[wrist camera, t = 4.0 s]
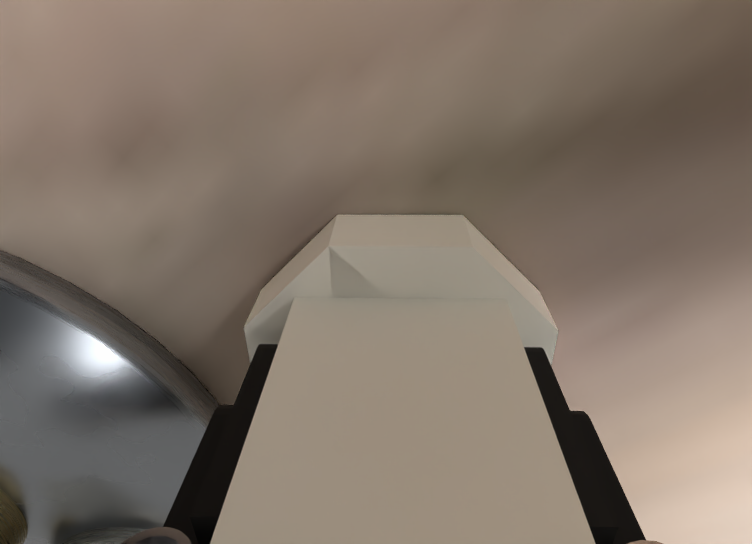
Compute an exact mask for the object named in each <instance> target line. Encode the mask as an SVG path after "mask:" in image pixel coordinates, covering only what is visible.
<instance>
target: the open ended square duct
mask: <svg viewBox="0 0 752 544" xmlns="http://www.w3.org/2000/svg"><path fill="white" fill-rule="evenodd" d="M244 332H245V338H246V343H247V349H248V354H249V360H250V364H251V361H252V359H253V356H254V354H255V351H256V349H257V347H258V345H259V344H278V347H277V350H276V353H275V356H274V358H273V361H272V364H271V367H270V370H269V373H268V376H267V379H266V382H265V385H264V388H263V391H262V393H261V396H260V399H259V402H258V405H257V408H256V411H255V414H254V417H253V420H252V423H251V425H250V428H249V431H248V434H247V437H246V440H245V443H244V446H243V449H242V452H241V455H240V457H239V460H238V463H237V466H236V469H235V472H234V475H233V478H232V481H231V484H230V487H229V490H228V492H227V495H226V498H225V501H224V504H223V507H222V510H221V513H220V516H219V519H218V522H217V524H216V527H215V530H214V533H213V536H212V539H211V542H210V544H595V541H594V538H593V535H592V533H591V530H590V527H589V525H588V522H587V519H586V516H585V514H584V511H583V508H582V505H581V503H580V500H579V497H578V494H577V492H576V489H575V486H574V483H573V481H572V478H571V475H570V472H569V470H568V467H567V464H566V461H565V459H564V456H563V453H562V451H561V448H560V445H559V442H558V440H557V437H556V434H555V431H554V429H553V426H552V423H551V420H550V418H549V415H548V412H547V409H546V407H545V404H544V401H543V398H542V396H541V393H540V390H539V387H538V385H537V382H536V379H535V376H534V374H533V371H532V368H531V366H530V363H529V360H528V357H527V355H526V352H525V349H524V347H542V348H543V349H544V351H545V353H546V355H547V358H548V360H549V362H550V365H552V360H553V356H554V351H555V346H556V341H557V337H558V332H559V330H558V328H557V326H556V324H555V322H554V320H553V318H552V316H551V314H550V312H549V310H548V308H547V306H546V304H545V302H544V300H543V298H542V296H541V294H540V291H538V290H537V289H536V288H535V287H534V286H533V285H532V284H531V283H530V282H529V281H528V280H527V279H526V278H525V277H524V276H523V275H522V274H521V273H520V272H519V271H518V270H517V269H516V268H515V267H514V266H513V265H512V264H511V263H510V262H509V261H508V260H507V259H506V258H505V257H504V256H503V255H502V254H501V253H500V252H499V251H498V250H497V249H496V248H495V247H494V246H493V245H492V244H491V243H490V242H489V241H488V240H487V239H486V238H485V237H484V236H483V235H482V234H481V233H480V232H479V231H478V230H477V229H476V228H475V227H474V226H473V225H472V224H471V223H470V222H469V221H468V220H467V219H466V218H465V217H464V216H463V215H336V216H335V217H334V218H333V219H332V220H331V221H330V222H329V223H328V224H327V225H326V226H325V227H324V228H323V229H322V230H321V231H320V232H319V233H318V234H317V235H316V236H315V237H314V238H313V239H312V240H311V241H310V242H309V243H308V244H307V245H306V246H305V247H304V248H303V249H302V250H301V251H300V252H299V253H298V254H297V255H296V256H295V257H294V258H293V259H292V260H291V261H290V262H289V263H288V264H287V265H286V266H285V267H284V268H283V269H282V270H281V271H280V272H278V273H277V274H276V275H275V276H274V277H273V278H272V279H271V280H270V281H269V282H268V283H267V284H266V285H265V286H264V287H263V288H262V289H261V291H260V293H259V295H258V298H257V300H256V302H255V304H254V306H253V308H252V310H251V313H250V315H249V317H248V319H247V321H246V323H245V325H244Z"/></svg>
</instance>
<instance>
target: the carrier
mask: <svg viewBox="0 0 752 544" xmlns="http://www.w3.org/2000/svg"><path fill="white" fill-rule="evenodd" d="M218 406H219V404H218V403H217V401H216V400H215V399H214V398H213V397H212V395H211V394H210V393H209V392H208V391H207V390H206V389H205V388H204V386H203V385H202V384H201V383H200V382H199V381H198V380H197V378H196V377H195V376H194V375H193V374H192V373H191V372H190V371H189V370H188V369H187V368H186V367H185V366H184V365H183V364H182V363H181V362H180V361H179V360H177V359H176V358H175V357H174V356H173V355H172V354H171V353H170V352H169V351H168V350H166V349H165V348H164V347H163V346H162V345H161V344H160V343H159V342H158V341H157V340H155V339H154V338H153V337H151V336H150V335H149V334H147V333H146V332H145V331H143V330H142V329H141V328H139V327H138V326H136V325H135V324H134V323H132V322H131V321H130V320H128V319H127V318H126V317H124V316H123V315H122V314H120V313H119V312H118V311H116V310H115V309H113V308H111V307H110V306H108V305H106V304H105V303H103V302H101V301H100V300H98V299H96V298H95V297H93V296H92V295H90V294H88V293H87V292H85V291H83V290H82V289H80V288H78V287H77V286H75V285H73V284H72V283H70V282H68V281H66V280H64V279H62V278H60V277H58V276H56V275H54V274H52V273H50V272H48V271H46V270H43V269H41V268H39V267H37V266H35V265H33V264H31V263H29V262H27V261H25V260H23V259H21V258H19V257H16V256H13V255H11V254H8V253H6V252H3V251H0V544H121V543H123V542H124V541H125V540H126V539H128V538H130V537H132V536H134V535H135V534H137V533H139V532H141V531H145V530H148V529H151V528H154V527H163V525H164V523H165V521H166V519H167V516H168V514H169V512H170V510H171V507H172V505H173V503H174V500H175V498H176V496H177V494H178V491H179V489H180V487H181V485H182V482H183V480H184V478H185V476H186V473H187V471H188V469H189V467H190V464H191V462H192V460H193V458H194V455H195V453H196V451H197V449H198V446H199V444H200V442H201V440H202V437H203V435H204V433H205V431H206V428H207V426H208V424H209V422H210V419H211V417H212V415H213V413H214V411H215V409H216V408H217V407H218Z"/></svg>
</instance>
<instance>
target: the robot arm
mask: <svg viewBox="0 0 752 544" xmlns="http://www.w3.org/2000/svg"><path fill="white" fill-rule="evenodd" d="M277 347H278V344H259V345H258V347H257V349H256V351H255V354H254V356H253V359H252V361H251V364H250V366H249V369H248V371H247V374H246V376H245V379H244V381H243V384H242V386H241V389H240V391H239V394H238V396H237V399H236V401H235V404H234V405H219V406H218V407H217V408H216V409H215V411H214V413H213V415H212V417H211V419H210V422H209V424H208V426H207V428H206V431H205V433H204V435H203V437H202V440H201V442H200V444H199V446H198V449H197V451H196V453H195V455H194V458H193V460H192V462H191V464H190V467H189V469H188V471H187V473H186V476H185V478H184V480H183V482H182V485H181V487H180V489H179V491H178V494H177V496H176V498H175V500H174V503H173V505H172V507H171V510H170V512H169V514H168V516H167V519H166V521H165V523H164V525H163V527H154V528H151V529H148V530H145V531H141V532H139V533H137V534H135V535H134V536H132V537H130V538H128V539H126V540H125V541H124V542H123V543H121V544H210V542H211V539H212V536H213V533H214V530H215V527H216V524H217V522H218V519H219V516H220V513H221V510H222V507H223V504H224V501H225V498H226V495H227V492H228V490H229V487H230V484H231V481H232V478H233V475H234V472H235V469H236V466H237V463H238V460H239V457H240V455H241V452H242V449H243V446H244V443H245V440H246V437H247V434H248V431H249V428H250V425H251V423H252V420H253V417H254V414H255V411H256V408H257V405H258V402H259V399H260V396H261V393H262V391H263V388H264V385H265V382H266V379H267V376H268V373H269V370H270V367H271V364H272V361H273V358H274V356H275V353H276V350H277ZM524 349H525V352H526V355H527V357H528V360H529V363H530V366H531V368H532V371H533V374H534V376H535V379H536V382H537V385H538V387H539V390H540V393H541V396H542V398H543V401H544V404H545V407H546V409H547V412H548V415H549V418H550V420H551V423H552V426H553V429H554V431H555V434H556V437H557V440H558V442H559V445H560V448H561V451H562V453H563V456H564V459H565V461H566V464H567V467H568V470H569V472H570V475H571V478H572V481H573V483H574V486H575V489H576V492H577V494H578V497H579V500H580V503H581V505H582V508H583V511H584V514H585V516H586V519H587V522H588V525H589V527H590V530H591V533H592V535H593V538H594V541H595V544H662V543H659V542H657V541H647V540H646V539H645V537H644V535H643V533H642V530H641V528H640V526H639V524H638V522H637V520H636V517H635V515H634V513H633V511H632V509H631V506H630V504H629V502H628V500H627V498H626V496H625V493H624V491H623V489H622V487H621V485H620V483H619V480H618V478H617V476H616V474H615V472H614V470H613V467H612V465H611V463H610V461H609V459H608V457H607V454H606V452H605V450H604V448H603V446H602V443H601V441H600V439H599V437H598V435H597V433H596V430H595V428H594V426H593V424H592V422H591V420H590V418H589V416H588V415H587V414H586V413H585V412H584V411H570V410H569V408H568V405H567V403H566V400H565V398H564V396H563V393H562V391H561V389H560V386H559V384H558V381H557V379H556V377H555V374H554V372H553V369H552V367H551V365H550V362H549V360H548V358H547V355H546V353H545V351H544V349H543V348H542V347H524Z"/></svg>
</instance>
